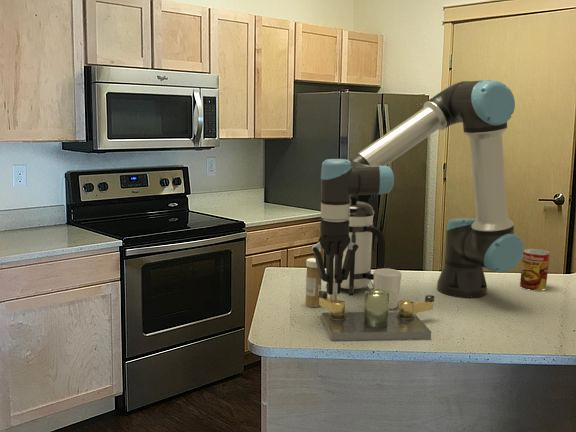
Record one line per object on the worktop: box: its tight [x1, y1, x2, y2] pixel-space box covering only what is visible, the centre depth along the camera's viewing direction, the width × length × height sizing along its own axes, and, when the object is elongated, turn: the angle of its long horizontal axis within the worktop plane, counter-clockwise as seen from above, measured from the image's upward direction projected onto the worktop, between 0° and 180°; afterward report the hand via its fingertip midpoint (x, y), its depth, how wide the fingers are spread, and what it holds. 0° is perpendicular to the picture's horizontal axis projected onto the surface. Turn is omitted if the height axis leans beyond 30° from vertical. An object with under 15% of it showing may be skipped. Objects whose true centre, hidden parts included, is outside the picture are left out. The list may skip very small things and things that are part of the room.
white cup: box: [372, 268, 402, 310], centre depth 181 cm, size 8×8×10 cm
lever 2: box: [398, 294, 435, 319], centre depth 168 cm, size 4×11×4 cm, turn 122°
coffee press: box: [325, 195, 386, 296], centre depth 195 cm, size 17×16×30 cm
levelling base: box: [321, 288, 432, 342], centre depth 162 cm, size 25×15×11 cm, turn 96°
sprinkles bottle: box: [305, 257, 322, 308], centre depth 180 cm, size 5×5×14 cm
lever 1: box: [319, 290, 346, 319], centre depth 167 cm, size 4×11×4 cm, turn 26°
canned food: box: [519, 248, 550, 291], centre depth 203 cm, size 8×8×12 cm
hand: (333, 305), depth 169 cm, fingers closed
